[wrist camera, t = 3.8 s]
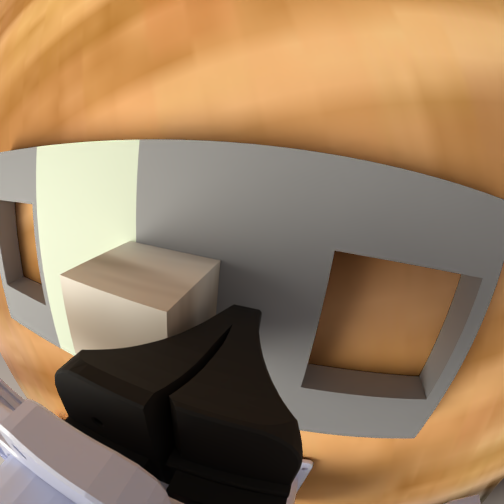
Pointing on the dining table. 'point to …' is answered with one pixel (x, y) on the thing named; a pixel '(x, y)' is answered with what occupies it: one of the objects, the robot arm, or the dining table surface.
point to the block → (138, 296)
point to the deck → (261, 251)
